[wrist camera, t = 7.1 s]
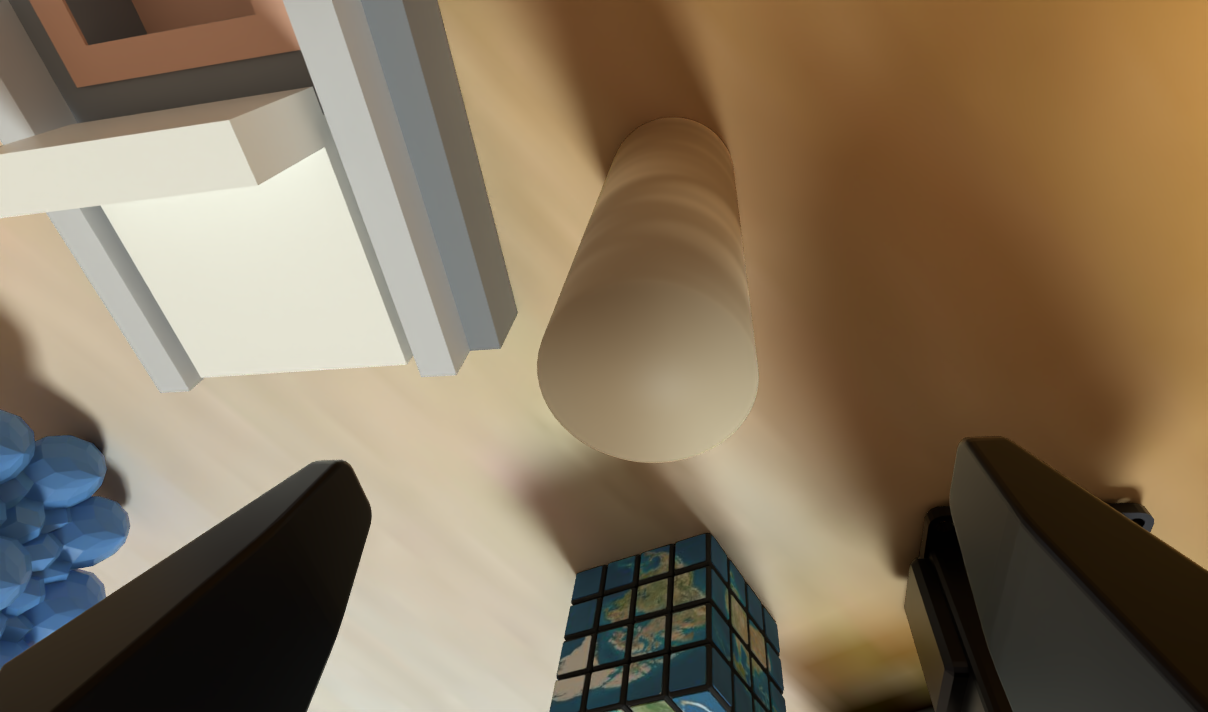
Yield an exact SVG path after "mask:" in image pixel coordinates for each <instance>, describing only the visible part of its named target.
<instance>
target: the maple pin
mask: <svg viewBox="0 0 1208 712" xmlns="http://www.w3.org/2000/svg"><path fill="white" fill-rule="evenodd" d="M537 374H538V380H539V386H540V389H541V392H542V395H543V398H544V400H545V402H546V404H547V406H548V408H549V409H550V411H551V412H552V414H553V415H554V417H555V418H556V419H557V420H558V421H559V423H560V424H561V425H562V426H563V427H564V428H565V429H566V430H567V431H568V432H570V433H571V434H572V435H573V436H574V437H576V438H577V439H578V440H580V441H581V442H583V443H584V444H586V445H588V446H590V447H591V448H593V449H595V450H597V451H600V452H602V453H604V454H607V455H610V456H613V457H616V458H619V459H624V460H629V461H634V462H643V463H663V462H673V461H679V460H684V459H687V458H691V457H694V456H697V455H700V454H702V453H704V452H707V451H709V450H711V449H712V448H714V447H716V446H718V445H719V444H721V443H722V442H723V441H725V440H726V439H728V438H729V437H730V436H731V435H732V434H733V433H734V432H735V431H736V430H737V429H738V428H739V427H740V426H741V424H742V423H743V422H744V421H745V419H746V418H747V416H748V414H749V412H750V411H751V409H752V406H753V404H754V401H755V398H756V394H757V389H758V380H759V371H758V363H757V355H756V347H755V339H754V330H753V322H752V314H751V306H750V298H749V290H748V282H747V274H746V265H745V257H744V249H743V241H742V233H741V225H740V217H739V208H738V200H737V192H736V184H735V176H734V168H733V163H732V159H731V156H730V154H729V152H728V150H727V148H726V146H725V144H724V143H723V142H722V140H721V139H720V138H719V137H718V136H717V135H716V134H715V133H714V132H713V131H712V130H710V129H709V128H708V127H706V126H704V125H702V124H701V123H699V122H696V121H693V120H690V119H686V118H679V117H667V118H661V119H656V120H653V121H650V122H648V123H646V124H644V125H642V126H640V127H639V128H637V129H636V130H634V131H633V132H632V133H631V134H630V135H629V136H628V137H627V138H626V139H625V140H624V141H623V142H622V144H621V145H620V147H619V149H618V150H617V153H616V155H615V157H614V159H613V162H612V164H611V167H610V169H609V172H608V174H607V177H606V180H605V182H604V185H603V187H602V190H601V192H600V195H599V197H598V200H597V202H596V205H595V207H594V210H593V212H592V215H591V217H590V220H589V223H588V225H587V228H586V230H585V233H584V235H583V238H582V240H581V243H580V245H579V248H578V250H577V253H576V255H575V258H574V261H573V263H572V266H571V268H570V271H569V273H568V276H567V278H566V281H565V283H564V286H563V288H562V291H561V293H560V296H559V298H558V301H557V304H556V306H555V309H554V311H553V314H552V316H551V319H550V321H549V324H548V326H547V329H546V331H545V334H544V336H543V339H542V342H541V345H540V349H539V353H538V361H537Z"/></svg>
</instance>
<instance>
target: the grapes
mask: <svg viewBox="0 0 1208 712" xmlns="http://www.w3.org/2000/svg"><path fill="white" fill-rule="evenodd" d="M106 471H107V467H106V462H105V456H104V455H103V454H102V453H101V452H100V451H99V449H98V448H97V447H96V446H95V445H94V444H93V443H90V442H88V441H85V440H82V439H80V438H77V437H74V436H71V435H64V436H46V437H44V438H42V439H40V440H37V441H35V439H34V431H33V430H32V429H31V428H30V427H29V426H28V425H27V423H26V422H25V421H24V420H23V419H22V418H21V417H19V416H17V415H14V414H11V413H9V412H6V411H3V410H1V409H0V670H1V668H2V666H3V665H4V664H5V663H7V662H8V661H10V660H12V659H13V658H15V657H16V656H18V655H19V654H21V653H22V652H24V651H25V650H27V649H28V648H30V647H31V646H33V645H34V644H36V643H37V642H39V641H40V640H42V639H44V638H45V637H47V636H48V635H50V634H51V633H53V632H54V631H56V630H57V629H59V628H60V627H62V626H63V625H65V624H66V623H68V622H69V621H71V620H72V619H74V618H76V617H77V616H79V615H80V614H82V613H83V612H85V611H86V610H88V609H89V608H91V607H92V606H94V605H95V604H97V603H98V602H100V601H101V600H103V599H104V598H106V594H105V588H104V584H103V583H102V582H101V581H100V580H99V579H98V578H97V577H96V576H95V574H94V573H91V572H87V571H84V570H80V569H79V568H84V567H89V566H94V565H95V564H97V563H99V562H101V561H103V560H104V559H106V558H108V557H110V556H112V555H113V554H115V553H116V552H117V551H118V550H119V548H120V547H121V546H122V545H123V544H124V543H125V541H126V539H127V536H128V533H129V529H130V523H129V517H128V513H127V512H126V511H125V510H124V509H123V508H122V507H121V505H120V504H119V503H118V502H116V501H113V500H110V499H107V498H104V497H101V496H93V497H91V496H92V495H93V494H94V493H95V492H96V491H97V490H98V489H99V487H100V486H101V485H102V482H103V480H104V477H105V474H106Z"/></svg>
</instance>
